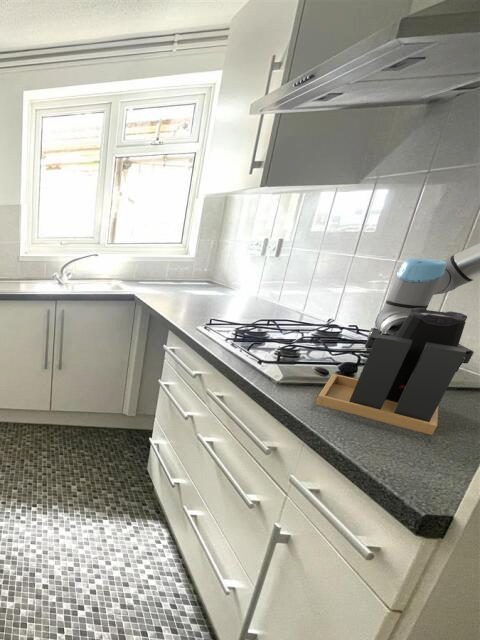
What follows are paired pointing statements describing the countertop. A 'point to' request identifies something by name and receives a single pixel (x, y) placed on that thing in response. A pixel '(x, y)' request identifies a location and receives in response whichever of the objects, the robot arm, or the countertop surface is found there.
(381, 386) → the charcoal box
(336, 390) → the oak tray
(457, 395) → the countertop surface
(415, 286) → the robot arm
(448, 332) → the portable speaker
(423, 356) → the charcoal box
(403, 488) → the countertop surface
